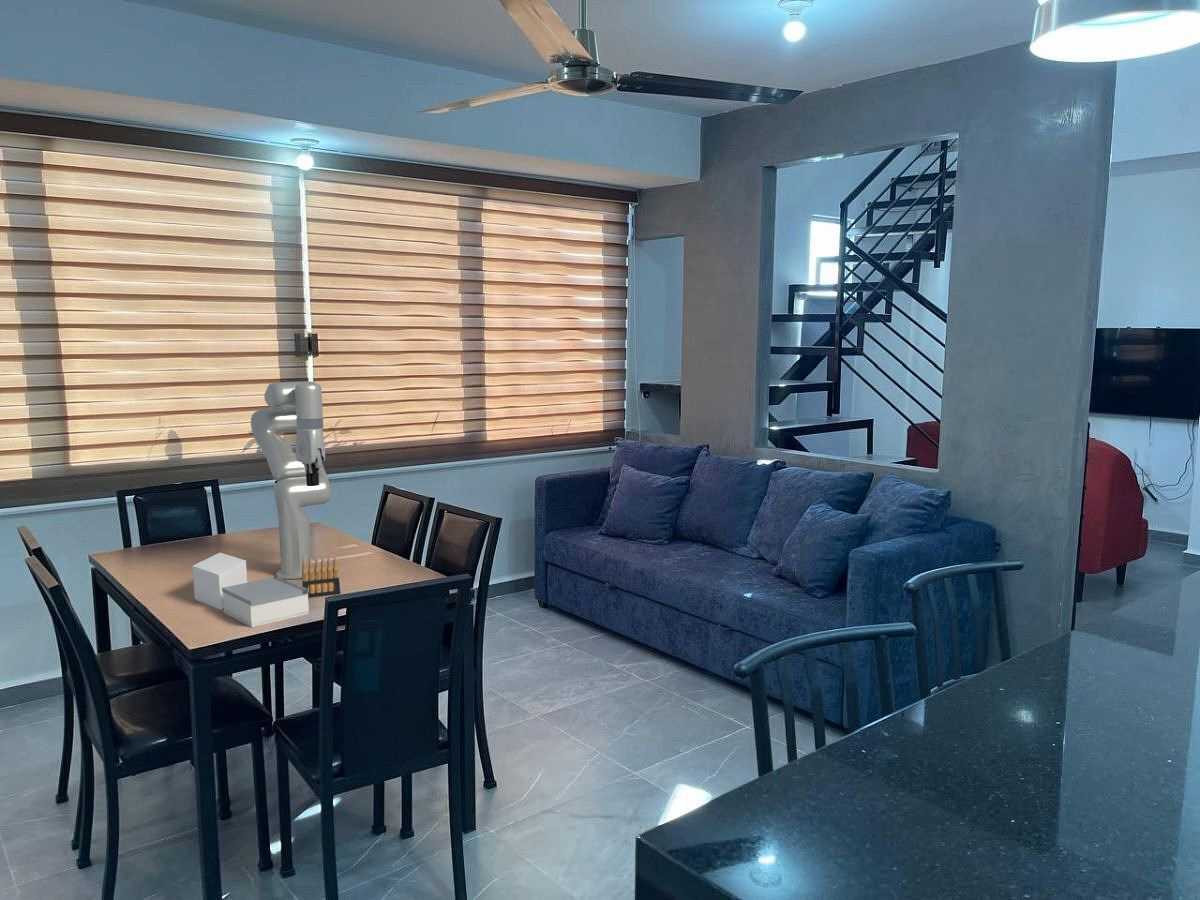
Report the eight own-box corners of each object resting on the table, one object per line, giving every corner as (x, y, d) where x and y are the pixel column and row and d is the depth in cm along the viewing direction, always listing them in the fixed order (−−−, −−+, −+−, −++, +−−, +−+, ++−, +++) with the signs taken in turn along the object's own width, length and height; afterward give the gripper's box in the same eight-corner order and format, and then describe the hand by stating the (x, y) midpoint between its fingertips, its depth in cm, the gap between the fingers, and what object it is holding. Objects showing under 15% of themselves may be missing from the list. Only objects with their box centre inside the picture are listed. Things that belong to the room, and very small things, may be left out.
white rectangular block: (247, 581, 272) (245, 550, 271) (248, 607, 246) (246, 572, 245) (196, 587, 267) (194, 554, 266) (192, 613, 240) (190, 577, 239)
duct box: (224, 612, 240) (222, 591, 240) (283, 599, 252) (281, 579, 252) (251, 627, 228) (250, 605, 227) (312, 612, 240) (311, 591, 239)
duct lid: (222, 591, 240) (221, 587, 240) (277, 580, 251) (277, 576, 251) (251, 605, 227) (251, 601, 226) (308, 592, 238) (308, 589, 238)
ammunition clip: (339, 592, 259) (338, 553, 258) (340, 594, 258) (338, 554, 256) (302, 596, 255) (300, 557, 254) (302, 598, 253) (300, 558, 252)
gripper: (286, 424, 259) (289, 484, 261) (310, 427, 248) (313, 490, 250) (309, 422, 264) (312, 481, 266) (334, 425, 253) (336, 487, 256)
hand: (312, 485), depth 258 cm, fingers closed
